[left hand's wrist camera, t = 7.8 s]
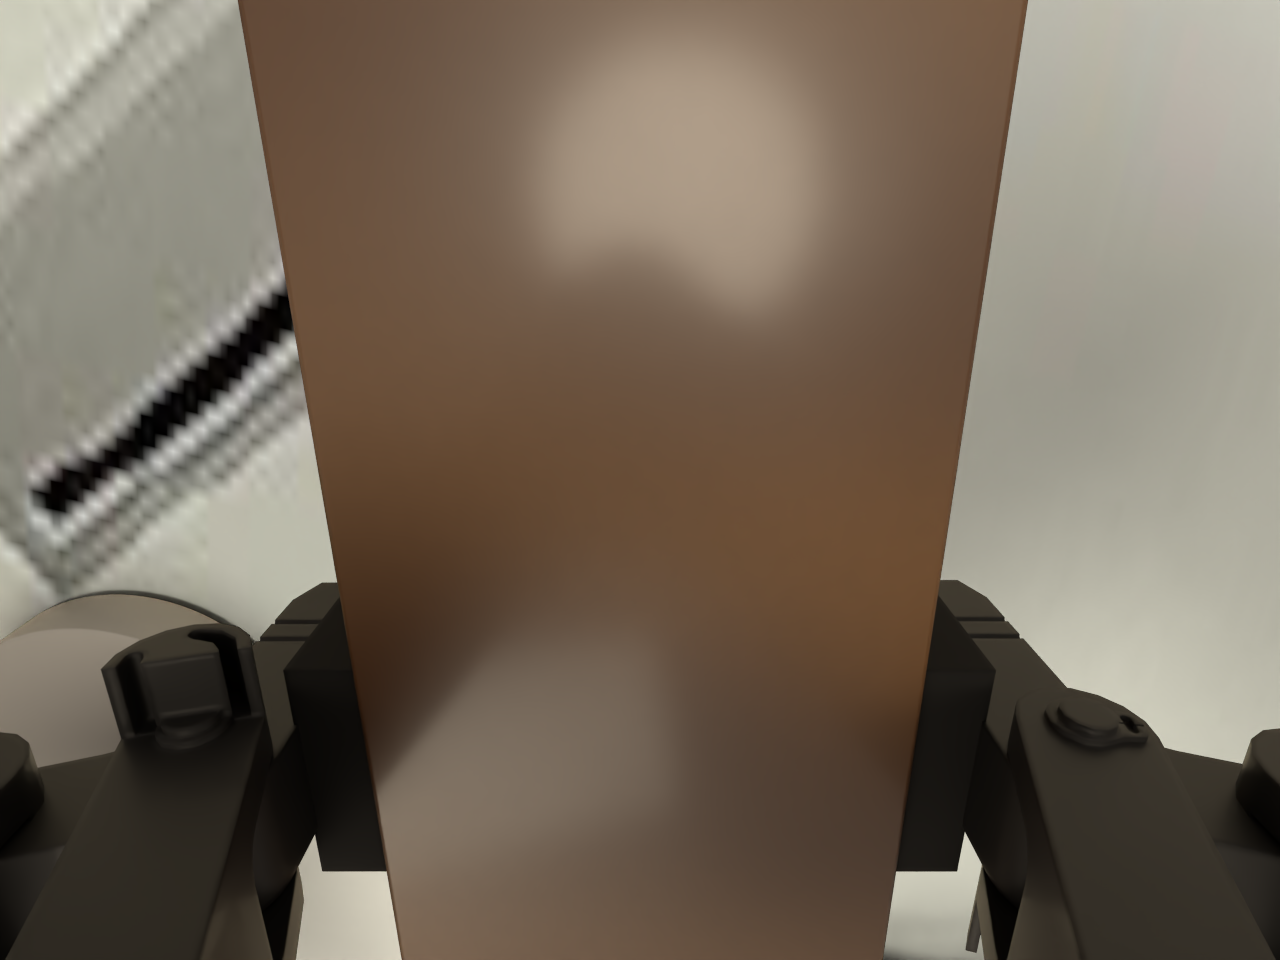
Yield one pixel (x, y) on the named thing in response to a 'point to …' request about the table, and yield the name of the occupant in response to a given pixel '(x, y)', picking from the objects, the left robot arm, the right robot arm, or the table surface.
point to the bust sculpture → (75, 671)
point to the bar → (637, 441)
